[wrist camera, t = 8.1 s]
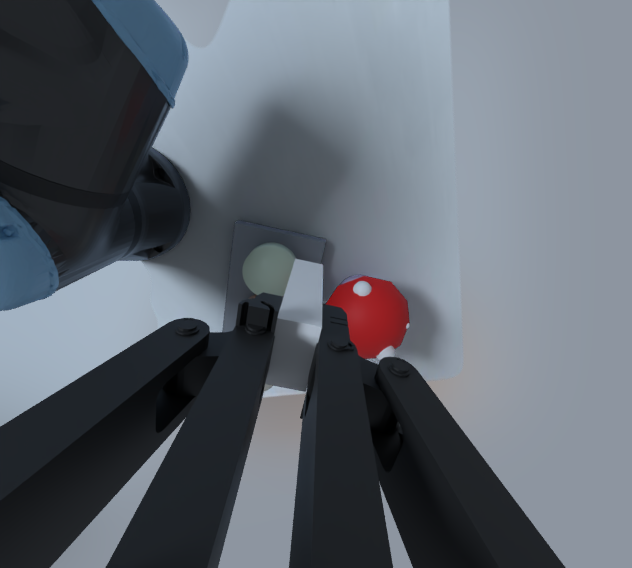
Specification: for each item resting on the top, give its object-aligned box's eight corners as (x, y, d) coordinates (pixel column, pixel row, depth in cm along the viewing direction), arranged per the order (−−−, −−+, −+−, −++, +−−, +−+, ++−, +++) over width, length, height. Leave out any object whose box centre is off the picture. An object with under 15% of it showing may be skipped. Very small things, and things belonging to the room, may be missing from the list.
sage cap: (243, 286, 40) (239, 292, 38) (250, 237, 38) (245, 241, 36) (293, 296, 41) (291, 303, 39) (303, 248, 38) (301, 253, 36)
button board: (222, 359, 50) (216, 371, 48) (238, 220, 42) (232, 224, 39) (294, 373, 51) (293, 385, 48) (325, 239, 42) (325, 244, 40)
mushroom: (310, 276, 45) (306, 315, 33) (383, 247, 43) (404, 278, 32) (338, 336, 48) (342, 389, 37) (407, 311, 46) (432, 360, 35)
